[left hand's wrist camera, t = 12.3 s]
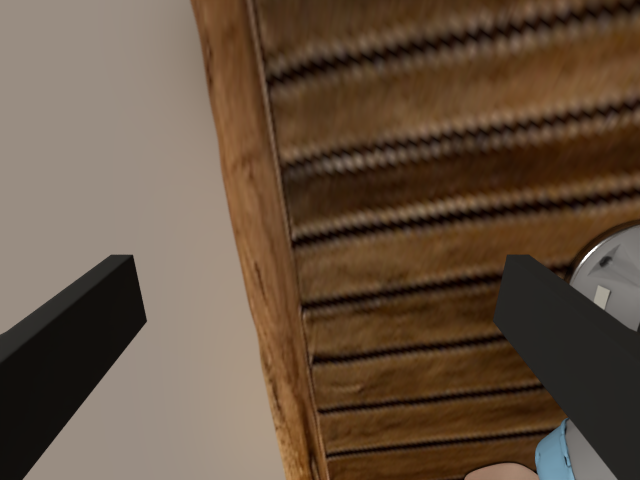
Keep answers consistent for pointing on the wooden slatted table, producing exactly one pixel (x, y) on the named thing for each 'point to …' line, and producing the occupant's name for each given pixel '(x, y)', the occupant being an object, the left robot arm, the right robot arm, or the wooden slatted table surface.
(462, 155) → the wooden slatted table surface
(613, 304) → the left robot arm
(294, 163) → the wooden slatted table surface
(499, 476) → the anatomical model
